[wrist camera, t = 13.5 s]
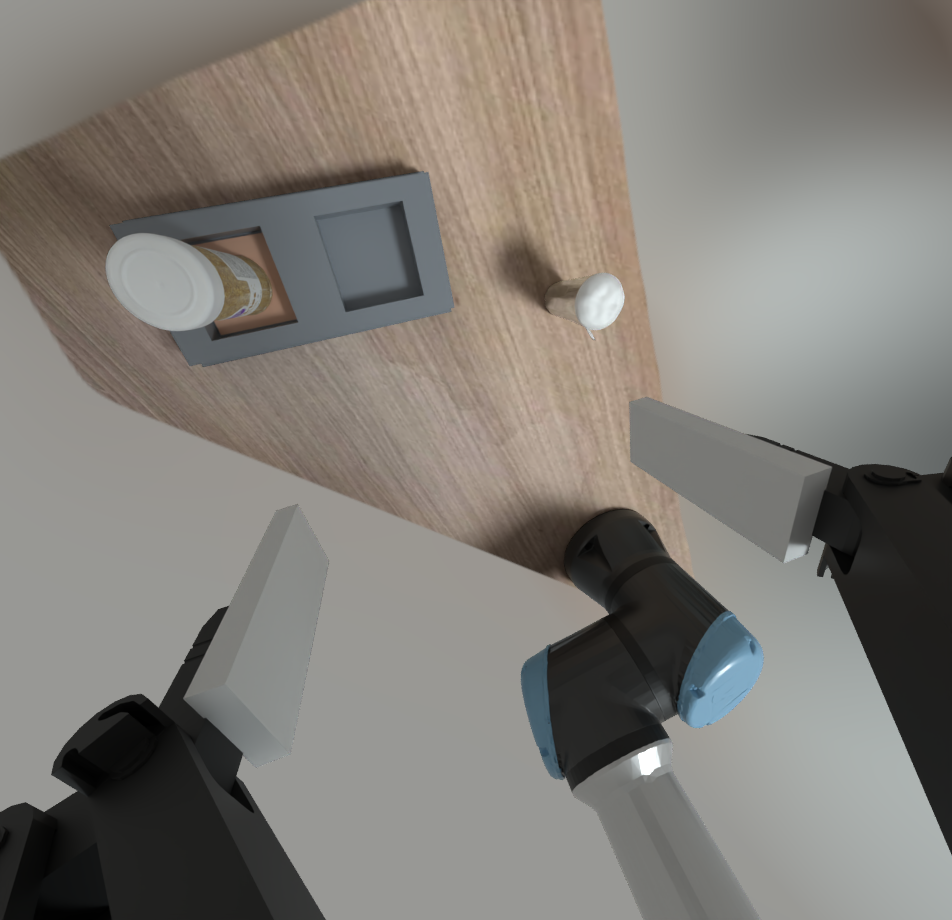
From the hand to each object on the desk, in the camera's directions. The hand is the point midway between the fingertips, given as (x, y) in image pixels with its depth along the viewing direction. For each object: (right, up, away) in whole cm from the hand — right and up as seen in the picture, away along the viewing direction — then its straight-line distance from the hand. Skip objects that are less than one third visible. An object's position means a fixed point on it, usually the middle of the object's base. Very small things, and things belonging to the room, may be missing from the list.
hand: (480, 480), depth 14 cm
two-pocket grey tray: (-15, +17, +18) cm, 29 cm away
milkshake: (+8, +18, +24) cm, 31 cm away
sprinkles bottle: (-20, +15, +16) cm, 30 cm away
